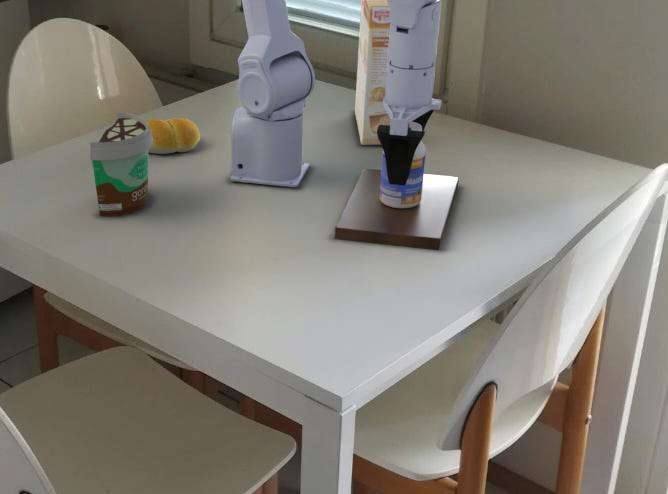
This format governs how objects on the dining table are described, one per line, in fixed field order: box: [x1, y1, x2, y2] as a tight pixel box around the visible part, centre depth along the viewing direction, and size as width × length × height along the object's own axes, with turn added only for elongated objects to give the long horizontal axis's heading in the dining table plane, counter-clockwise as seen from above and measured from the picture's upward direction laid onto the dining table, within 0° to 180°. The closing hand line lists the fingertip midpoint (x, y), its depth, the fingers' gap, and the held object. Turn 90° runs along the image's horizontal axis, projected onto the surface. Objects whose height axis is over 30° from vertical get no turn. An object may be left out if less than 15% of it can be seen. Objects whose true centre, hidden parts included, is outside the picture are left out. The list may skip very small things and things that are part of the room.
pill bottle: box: [380, 122, 427, 208], centre depth 139 cm, size 5×5×10 cm
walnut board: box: [334, 167, 460, 251], centre depth 143 cm, size 13×20×2 cm, turn 165°
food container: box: [89, 111, 153, 217], centre depth 143 cm, size 12×6×10 cm, turn 168°
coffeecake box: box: [354, 0, 391, 146], centre depth 162 cm, size 15×7×20 cm, turn 179°
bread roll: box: [145, 117, 201, 155], centre depth 161 cm, size 8×9×4 cm
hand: (402, 172), depth 140 cm, fingers open, 7 cm apart
